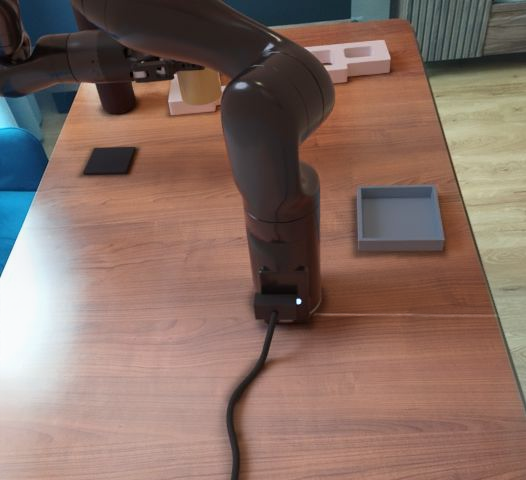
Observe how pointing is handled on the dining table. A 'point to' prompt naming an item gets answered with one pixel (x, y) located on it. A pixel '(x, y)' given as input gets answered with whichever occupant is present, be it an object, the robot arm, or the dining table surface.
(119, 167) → the coaster
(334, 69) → the holder
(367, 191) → the tray
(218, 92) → the cup
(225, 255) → the dining table surface
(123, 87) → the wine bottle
